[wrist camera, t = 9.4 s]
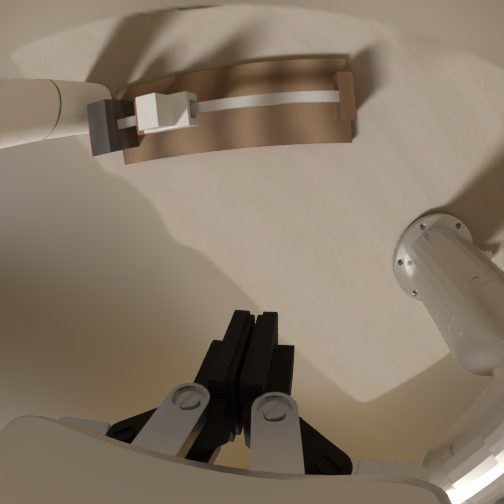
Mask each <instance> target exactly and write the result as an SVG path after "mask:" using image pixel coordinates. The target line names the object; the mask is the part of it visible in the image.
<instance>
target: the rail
mask: <svg viewBox="0 0 504 504" xmlns="http://www.w3.org/2000/svg"><path fill="white" fill-rule="evenodd" d="M184 91H187V92H190V93H194V94H197V103H192V104H189V105H190V114H191V115H193V114H199V122H200V125H199V126H192V127H186V128H180V129H174V130H169V131H163V132H157V133H147V134H145V133H144V130H141V131H139V126H138V118H137V108H136V97H140V96H143V95H147V94H151V93H159V94H165V95H169V94H174V93H179V92H184ZM116 95H117V100H111V99H103V100H100V101H97V102H94V103H91V104H88V105H87V115H88V124H89V133H90V141H91V148H92V155H93V156H97V155H101V154H106V153H110V152H115V151H119V150H123V155H124V162H125V165H126V164H131V163H137V162H142V161H148V160H154V159H160V158H167V157H173V156H180V155H187V154H195V153H202V152H211V151H219V150H228V149H238V148H249V147H261V146H275V145H291V144H313V143H352V130H351V121H354V120H357V115H356V103H355V92H354V82H353V73H352V72H346V65H345V59H296V60H280V61H268V62H258V63H249V64H241V65H233V66H226V67H220V68H213V69H207V70H202V71H196V72H191V73H186V74H181V75H177V76H172V77H168V78H164V79H159V80H155V81H151V82H148V83H144V84H140V85H136V86H133V87H129V88H126V89H123V90H119V91H116Z"/></svg>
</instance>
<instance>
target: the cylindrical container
mask: <svg viewBox="0 0 504 504" xmlns="http://www.w3.org/2000/svg"><path fill="white" fill-rule="evenodd" d="M103 99H111V100H112V96H111V93H110V91H109V90H108V89H107V88H106V87H105V86H103V85H101V84H97V83H87V82H77V81H65V80H50V79H25V78H20V79H19V78H1V79H0V149H1V148H5V147H9V146H14V145H19V144H24V143H29V142H34V141H39V140H44V139H50V138H57V137H63V136H69V135H77V134H85V133H89V124H88V115H87V105H88V104H91V103H94V102H97V101H100V100H103Z"/></svg>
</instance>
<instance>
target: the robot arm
mask: <svg viewBox="0 0 504 504" xmlns="http://www.w3.org/2000/svg"><path fill="white" fill-rule="evenodd" d="M421 224H422V225H421ZM420 225H421V226H420ZM490 259H492V251H491V250H490V249H487V250H481V249H479V248H478V247H477V246H476V245H475V244H473V239H472V236H471V233H470V231H469V229H468V228H467V226H466V225H465V224H464V223H463V222H462V221H461V220H459V219H458V218H456V217H454V216H452V215H450V214H446V213H433V214H429V215H426V216H424V217H421V218H420V219H418V220H417V221H415V222H414V223H412V224H411V225H410V226H409V227H408V228H407V229H406V231H405V232H404V233H403V235H402V236H401V238H400V240H399V242H398V244H397V246H396V249H395V253H394V259H393V270H394V274H395V278H396V280H397V282H398V284H399V285H400V287H401V289H402V290H403V291H404V292H405V293H406V294H407V295H409V296H410V297H412V298H414V299H417V300H422V301H423V303H424V305H425V307H426V308H427V310H428V312H429V313H430V315H431V317H432V318H433V320H434V322H435V324H436V325H437V327H438V329H439V331H440V333H441V334H442V336H443V338H444V340H445V342H446V344H447V345H448V347H449V349H450V351H451V353H452V354H453V356H454V358H455V360H456V361H457V363H458V364H459V365H460V366H461V367H462V368H463V369H465V370H466V371H468V372H470V373H472V374H475V375H479V376H488V377H489V376H490V377H492V380H491V382H490V384H489V385H488V387H487V388H486V389H485V390H484V391H483V393H482V394H481V395H480V396H479V397H478V399H477V400H476V401H475V403H474V404H473V405H472V406H471V407H470V408H469V409H468V410H467V411H466V412H465V413H464V414H463V415H462V416H461V417H460V418H459V419H458V420H457V421H456V422H455V423H454V424H453V425H452V426H451V427H450V428H449V429H448V430H447V431H446V432H444V433H443V434H442V435H441V436H440V437H439V438H438V439H437V440H436V442H434V444H433V445H432V446H431V447H430V449H429V450H428V452H427V453H426V455H425V457H424V460H423V463H422V466H420V465H417V464H413V463H401V462H390V461H382V460H374V459H367V458H361V460H356V459H350V458H349V457H348V455H347V454H346V453H344V452H343V451H342V450H340V449H339V448H338V447H336V446H335V445H334V444H333V443H331V442H330V441H329V440H328V439H326V438H325V437H324V436H322V435H321V434H320V433H319V432H318V431H316V430H315V429H314V428H313V427H311V426H310V425H309V424H308V423H307V422H305V421H304V420H303V419H302V418H301V417H299V415H298V406H297V403H296V401H295V400H294V399H293V398H292V397H291V396H290V395H291V387H292V378H293V365H294V345H278V313H277V312H263V315H258V317H257V320H256V324H255V316H254V315H251V314H250V311H244V310H235V312H234V314H233V316H232V319H231V321H230V324H229V326H228V329H227V331H226V334H225V336H224V338H223V341H220V340H213V341H212V343H211V345H210V347H209V350H208V352H207V354H206V356H205V358H204V360H203V363H202V365H201V367H200V370H199V372H198V374H197V376H196V378H195V380H194V383H185V384H181V385H178V386H177V387H175V388H173V389H172V390H171V391H170V392H169V394H168V395H167V396H166V398H165V399H164V401H163V402H162V403H161V405H160V406H159V407H158V408H155V409H152V410H150V411H147V412H145V413H142V414H139V415H136V416H134V417H131V418H128V419H125V420H123V421H120V422H118V423H116V424H114V425H110V424H109V422H100V421H92V420H84V419H78V418H71V417H63V418H60V419H55V418H50V417H46V416H35V415H25V416H20V417H17V418H15V419H14V420H12V421H11V422H9V423H8V424H7V425H6V426H5V427H4V428H3V429H2V430H1V431H0V504H504V271H502V270H501V269H500V268H499V267H498V266H497V265H496V264H495V263H494V262H492V261H491V260H490ZM399 260H400V261H399ZM242 428H244V435H245V443H246V446H247V447H248V448H249V449H250V470H247V469H239V468H231V467H225V466H220V465H214V462H215V460H216V458H217V456H218V455H219V452H220V449H221V445H224V444H226V443H227V442H228V441H232V442H234V439H235V435H240V434H241V432H242Z"/></svg>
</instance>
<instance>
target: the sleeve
mask: <svg viewBox="0 0 504 504" xmlns="http://www.w3.org/2000/svg"><path fill="white" fill-rule="evenodd" d="M192 103H197V94H194V93H190V92H187V91H184V92H179V93H174V94H169V95H165V94H159V93H151V94H147V95H143V96H140V97H136V108H137V118H138V126H139V131H141V130H144V133H145V134H147V133H157V132H163V131H169V130H174V129H180V128H186V127H192V126H199V125H200V122H199V114H193V115H191V114H190V105H189V104H192Z"/></svg>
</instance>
